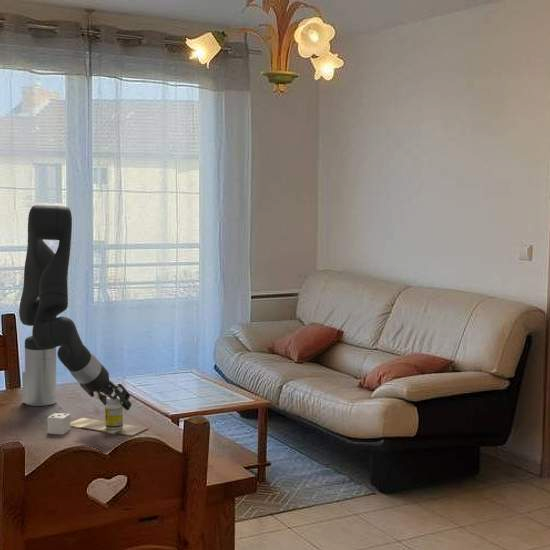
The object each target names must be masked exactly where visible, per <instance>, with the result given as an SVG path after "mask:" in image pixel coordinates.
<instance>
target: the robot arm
mask: <svg viewBox="0 0 550 550" xmlns="http://www.w3.org/2000/svg"><path fill="white" fill-rule="evenodd" d="M27 216H28V218H27V247H26V248H27V249H26V255H25V262H24V271H23V286H22V287H23V288H22V293H21V297H20V303H19V308H18V312H19V313H18V316H19V320H20V322H21V324H22V325H24V326H30V327H32V331H31V335H30V336H28V337H26V338H25V340H24V371H22V373H21V376H22V377H21V379H22V380H21V381H22V383H21V386H22V391H21V392H22V403H24V404H25V405H26V406H27V405H28V406H32V407H43V406H50V405H53V404H56V403H57V358H58V360H59V361H60V362H61V363H62V364H63V366H64V367H65V368H66V369H67V370H68V371H69V372H70V374H71V376H72V377H73V378H74V379H75V380H76V381H77V383H79V385H80V387H81V388H82V389H83V390H84V391H85V392H86V393H87V394H88V396H90V397H91V398H94V397H95V399H96V400H99V401H100V402H101V403H102V404H103V406H104V407H105V406H106V404H107V403H106V398H107V397H108V398H110V399H111V400H116V401H117V402H119V403H120V404H121V405H122V407H123V409H124V410H125V411H129V410H130V408H131V407H132V402H130V398H131V394H130V393H129V391H127V389H126V388H125V387H124V386H123V384H121V383H118V384H117V385H116V384H114V383H113V381H111V380H110V373H109V371H108V370H107V368H106V367H105V366H104V365H103V364H102V363H101V362H100V360H99V359H98V358H97V357H96V356H95V355H94V354H93V353H92V352H90V350H89V349H88V348H87V347H86V345H84V343H83V341H82V339H81V336H80V334H79V332H78V329H77V326H76V324H75V322H74V320H72V319H71V318H69V317H67V316H59V315H60V314H61V313H63V312H65V311H67V309H68V307H69V294H68V293H69V290H68V287H69V286H68V285H69V283H68V276H69V275H68V274H69V264H70V256H71V246H72V244H71V243H72V231H73V218H72V217H73V216H72V211H71V209H70V207H68V206H67V205H55V204H54V205H53V204H35V205H33V206H31V207H30V210H29V213H28V215H27ZM44 240H46V241H47V240H48V241H58V245H57V250H56V251H55V252H54V250H52V248H51V247H49V246H48V244H47V243H46V242H45V241H44ZM58 316H59V317H58ZM58 347H59V348H58ZM57 348H58V349H57ZM113 393H114V394H113ZM117 396H118V397H119V398H120V399H119V398H117Z"/></svg>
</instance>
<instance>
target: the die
mask: <svg viewBox="0 0 550 550" xmlns="http://www.w3.org/2000/svg"><path fill="white" fill-rule="evenodd" d="M70 422H71V413H60V412H59V413H58V412H54V413H52V414H50V415H49V416H47V434H48V433H49V434H51V435H63V434H64V435H65V434H67V433H68V432H69V430H70V431H71V427H70ZM66 432H67V433H66Z"/></svg>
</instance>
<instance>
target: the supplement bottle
mask: <svg viewBox="0 0 550 550" xmlns="http://www.w3.org/2000/svg"><path fill="white" fill-rule="evenodd" d="M117 398H119V397H118V396H117ZM119 399H120V398H119ZM106 403H107V404H106V406H105V405H104V408H105V409H104V411H105V412H104V413H105V415H104V416H105V421H106V428H107V429H120V428H122V427H123V424H124V410H123V409H124V408H123V407H122V405H121V404H120V403H119V402H117V401H116V400H111V399H110V398H108V397H107V398H106Z"/></svg>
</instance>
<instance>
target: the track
mask: <svg viewBox="0 0 550 550" xmlns="http://www.w3.org/2000/svg"><path fill="white" fill-rule="evenodd" d="M70 428H75V429H82V430H86V431H87V430H89V431H93V430H95V431H94V432H100V431H101V432H100V433H106V432H107V433H108V434H113V435H118V436H124V435H125V436H124V437H126V436H127V437H131V438H132V437H134V435H135V436H137V435H140V434H141V433H143V432H146V431H147V430H149V427H146V426H140V425H139V426H138V425H132V424H126V423H123V427H122V428H120V429H107V428H106V420H100V419H95V418H94V419H93V418H88V417H87V418H86V417H81V418H78V419H75V420H74V421H70ZM107 433H106V434H107ZM136 434H137V435H136Z"/></svg>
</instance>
